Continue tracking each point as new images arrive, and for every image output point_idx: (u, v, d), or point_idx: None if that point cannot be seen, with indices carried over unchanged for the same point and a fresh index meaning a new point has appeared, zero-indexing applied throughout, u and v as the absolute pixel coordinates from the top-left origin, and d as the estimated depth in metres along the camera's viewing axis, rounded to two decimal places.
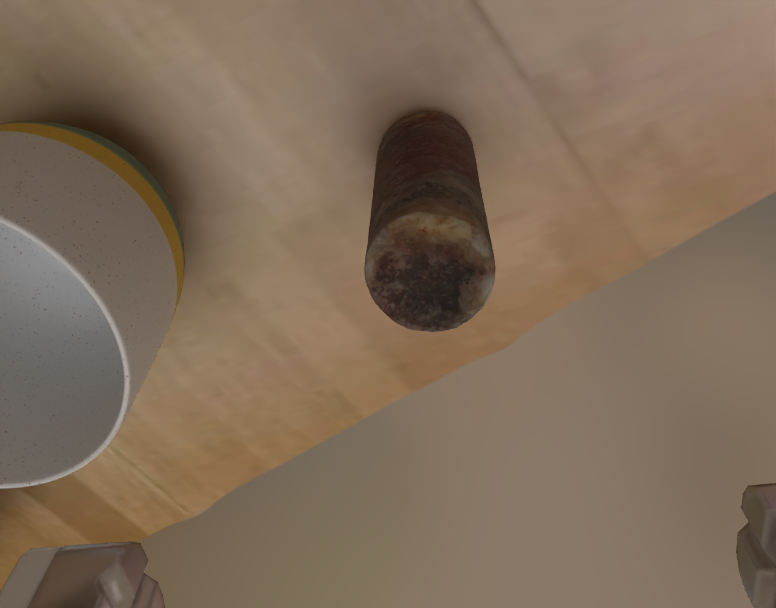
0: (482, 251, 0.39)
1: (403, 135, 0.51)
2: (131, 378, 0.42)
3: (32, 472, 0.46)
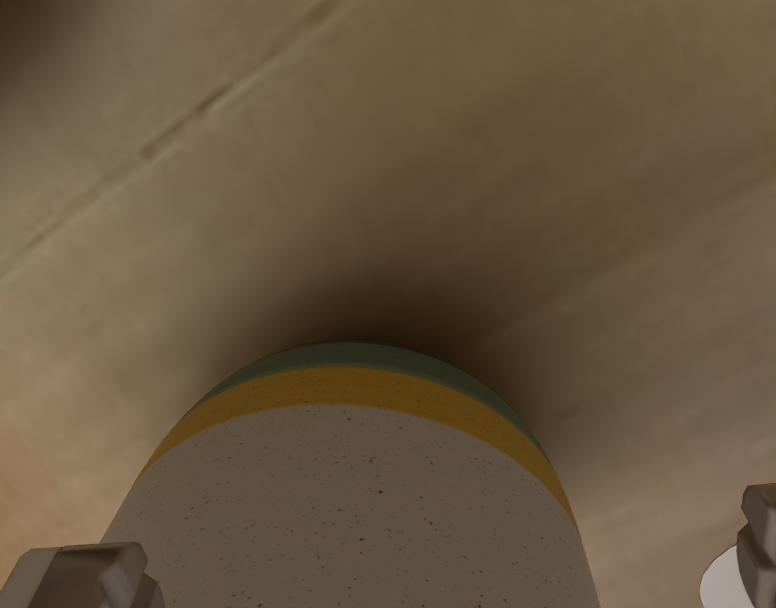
0: None
1: None
2: None
3: None
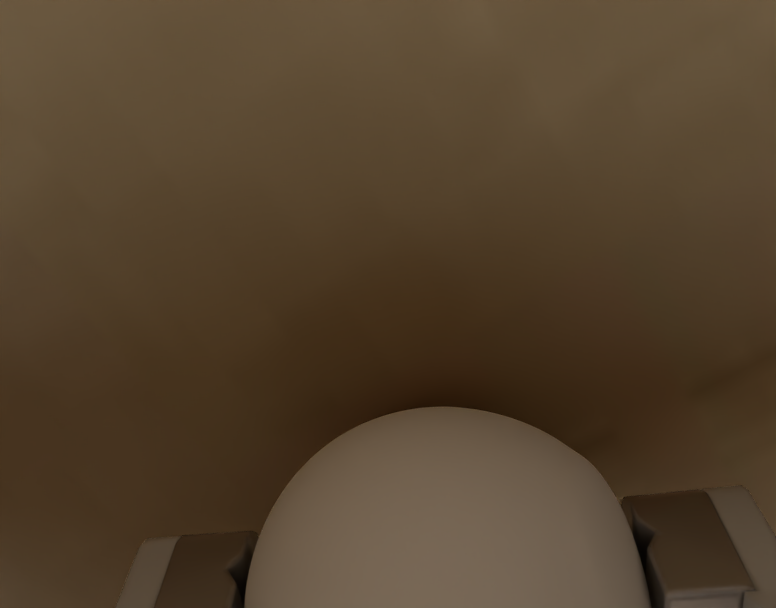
0: None
1: None
2: None
3: None
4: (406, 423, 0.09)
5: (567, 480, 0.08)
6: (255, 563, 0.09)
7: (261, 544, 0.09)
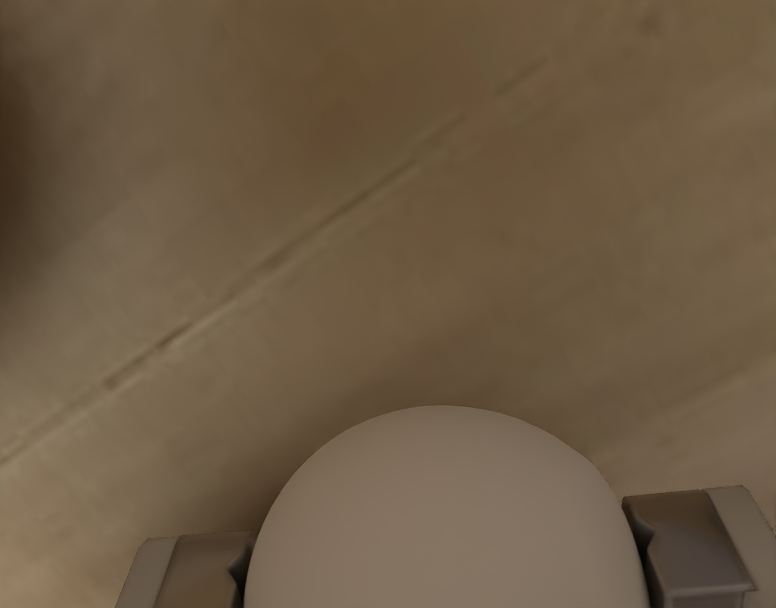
0: None
1: None
2: None
3: None
4: (405, 422, 0.09)
5: (566, 479, 0.08)
6: (254, 561, 0.09)
7: (260, 542, 0.09)
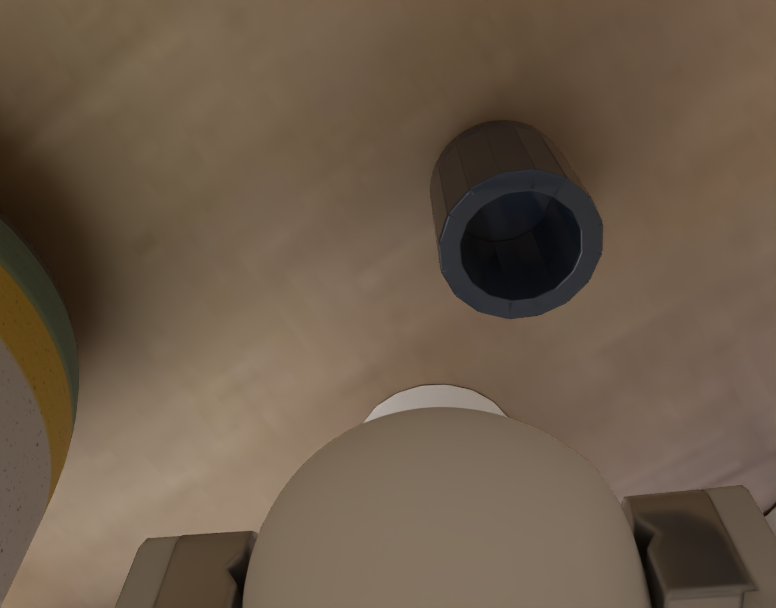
0: None
1: None
2: None
3: None
4: (405, 424, 0.09)
5: (567, 481, 0.08)
6: (253, 564, 0.08)
7: (259, 545, 0.09)
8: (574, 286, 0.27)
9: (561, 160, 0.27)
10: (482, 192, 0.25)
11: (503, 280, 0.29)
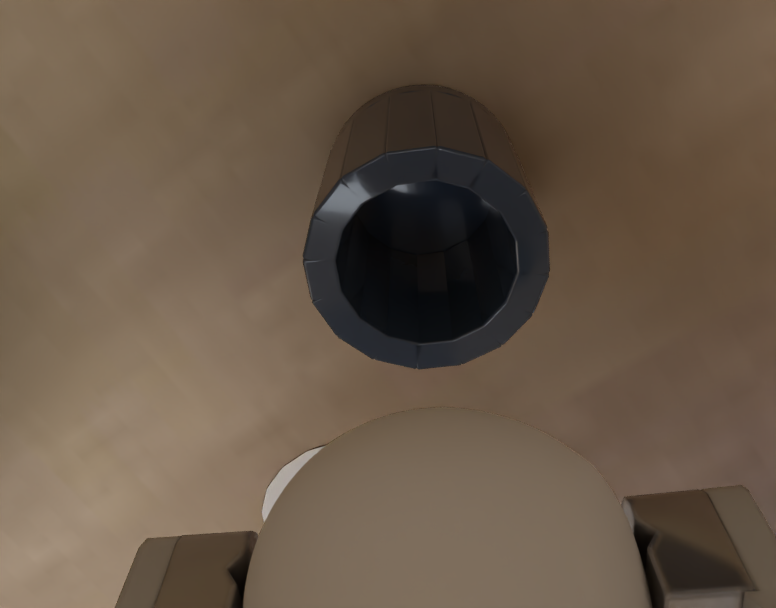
0: None
1: None
2: None
3: None
4: (406, 424, 0.09)
5: (568, 481, 0.08)
6: (254, 565, 0.08)
7: (260, 545, 0.09)
8: (510, 323, 0.18)
9: (493, 137, 0.19)
10: (360, 183, 0.16)
11: (415, 312, 0.20)
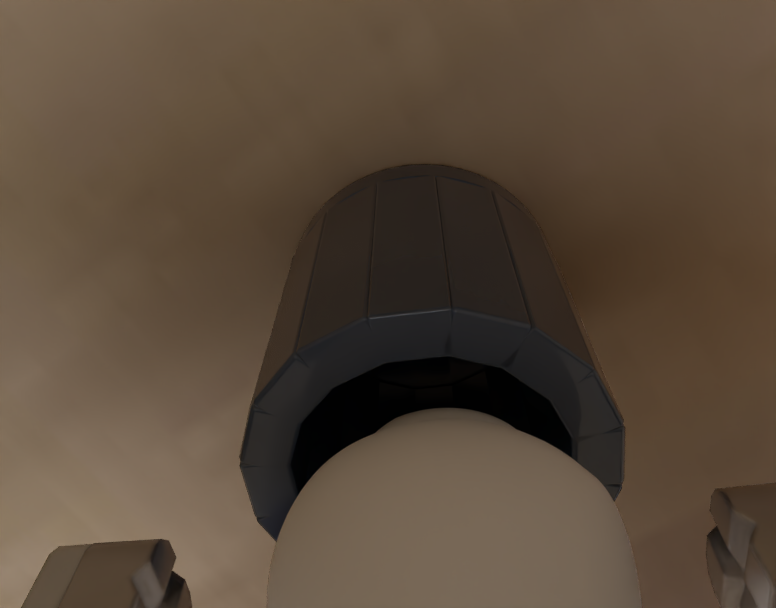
0: None
1: None
2: None
3: None
4: (422, 452, 0.09)
5: (577, 518, 0.08)
6: (277, 576, 0.09)
7: (282, 559, 0.09)
8: None
9: (532, 260, 0.12)
10: (327, 360, 0.10)
11: None
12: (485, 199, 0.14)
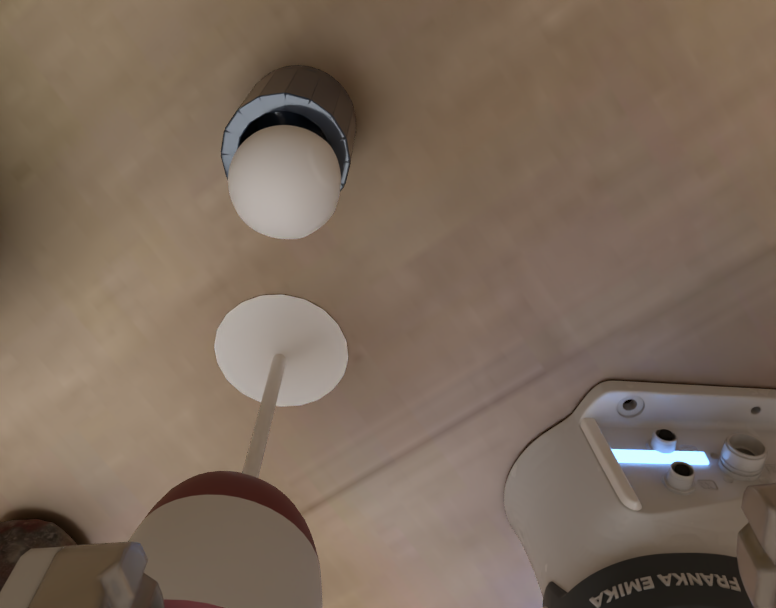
0: None
1: None
2: None
3: None
4: (271, 127, 0.31)
5: (312, 141, 0.31)
6: (230, 165, 0.31)
7: (232, 160, 0.31)
8: None
9: (326, 92, 0.35)
10: (247, 112, 0.32)
11: None
12: (316, 75, 0.36)
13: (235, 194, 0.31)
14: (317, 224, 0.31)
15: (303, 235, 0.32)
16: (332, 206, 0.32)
